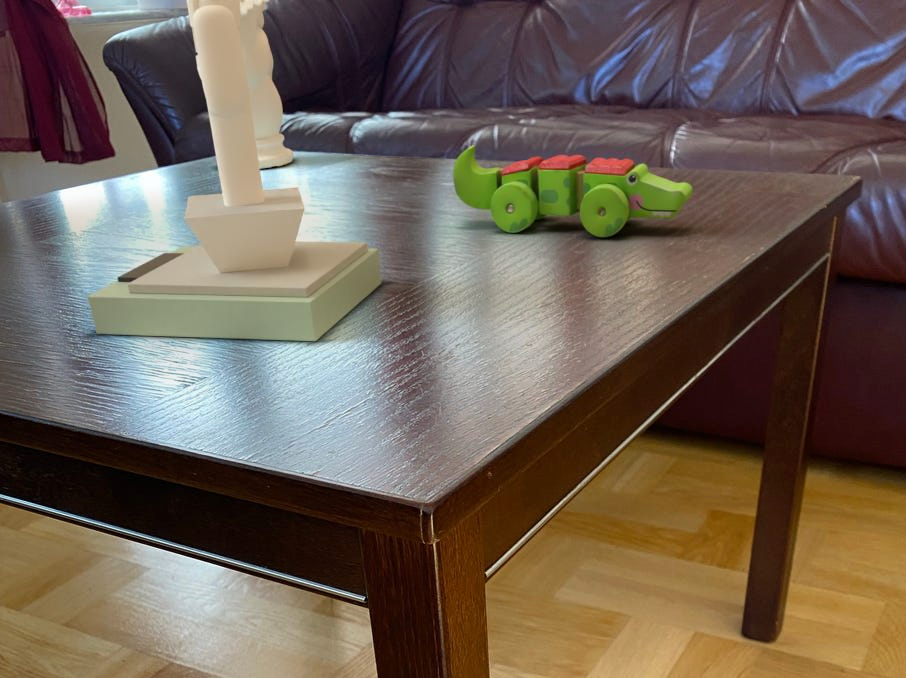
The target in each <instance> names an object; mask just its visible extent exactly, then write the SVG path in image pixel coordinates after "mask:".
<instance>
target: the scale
mask: <svg viewBox="0 0 906 678" xmlns="http://www.w3.org/2000/svg"><path fill="white" fill-rule="evenodd" d="M379 253H380V252H379V248H368V243H367V242H363V241H295V245H294V249H293V252H292V256H291V259H290V263H289V267H278V268H267V269H256V270H245V271H234V272H224V273H220V272H219V270H218V269H217V267H216V266H215V264H214V263H213V261H212V260H211V258H210V257H209V255H208V254H207V252H206V251H205V249H204V248H203V246H202V245H201V244H199V245H195V246H194V245H183V246H181V247H179V248H176V250H174V251H171V252H164V253H162V254H159V255H158V256H156V257H153V258H152V259H149V260H148V261H146V262H144V263H142V264H140V265H139V266H136V267H134V268H133V269H131V270H129V271H127V272H125V273H123V274H121V275H119V276H117V280H115V282H112V283H110V284H109V285H107V286H104V287H102V288H101V289H99V290H97V291H95V292H93V293H91V294H89V295H87V300H88V304H89V308H90V312H91V316H92V321H93V324H94V328H95V332H96V334H97V335H117V336H118V335H119V336H120V335H121V336H149V337H150V336H151V337H174V338H175V337H179V338H209V339H233V340H235V339H236V340H237V339H238V340H264V341H266V340H267V341H268V340H269V341H294V342H295V341H296V342H316V341H318V340H319V339H320V338H321V337H322V336H323V335H324V334H326V333H327V332H328V331H329V330H330V329H331V328H333V327H334V326H335V325H336V324H337V323H338V322H339V321H340V320H342V319H343V318H344V317H345V316H346V315H347V314H348V313H350V312H351V311H352V310H353V309H354V308H356V306H357V305H358V304H360V303H361V302H362V301H363V300H364V299H365V298H367V297H368V296H369V295H370V294H371V293H372V292H374V291H375V290H376V289H377V288H378V287H379V286H380V285H381V284H382V275H381V264H380V254H379Z"/></svg>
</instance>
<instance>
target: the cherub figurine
mask: <svg viewBox="0 0 906 678" xmlns="http://www.w3.org/2000/svg"><path fill="white" fill-rule="evenodd" d="M269 1H270V0H240V15H241V28H240V29H239V32H240V40H241V47H242V53H243V60H244V67H245V73H246V80H247V87H248V94H249V100H250V107H251V114H252V120H253V127H254V134H255V140H256V147H257V154H258V161H259V167H260V170H261V169H266V168H268V169H269V168H272V167H276V166H277V167H281V166H283V165H287V164H290V163H291V162H292V161H293V159H294V158H293V157H294V152H293V150H292V149H290V148H287V147H285V146H284V141H285V135H284V134H282V133H280V131H281V127H282V123H283V115H284V114H283V110H284V109H283V103H282V100H281V99H282V98H281V96H280V94H279V91H278V89H277V87H276V85H275V83H274V81H273V71H274V70H273V69H274V58H273V57H274V56H273V54H272V49H271V47H270V43H269V39H268V36H267V34H266V32H265V31H264V29H263V28H264V24H265V18H264V14H263V12H264V11H265V10H266V8H267V5H266V4H267V3H269ZM196 69H197V73H198V75H199V78H200V80H201V81H202V79H201V72H200V67H197V66H196Z"/></svg>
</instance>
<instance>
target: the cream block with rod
mask: <svg viewBox="0 0 906 678" xmlns="http://www.w3.org/2000/svg"><path fill="white" fill-rule="evenodd" d="M186 6H187V12H188V19H189V26H190V27H191V32H192V37H193V43H194V48H195V53H197V55H195V60H196V68H197V67H200V72H201V78H200V80H201V79H202V80H201V84H202V89H203V93H204V97H205V100H206V106H207V111H208V119H209V124H210V130H211V135H212V141H213V148H214V153H215V159H216V165H217V172H218V176H219V182H220V189H221V193H213V194H212V193H211V194H200V195H188V197H187V201H186V207H185V213H184V217H183V219H184V220H185V222H186V224H187V225H188V226H189V228H190V229H191V231H192V233H193V234H194V236H195V238H197V241H198V242H199V243H200V245H202V246H203V248H204V249H205V251H206V252H207V254H208V255H209V257H210V258H211V260H212V261H213V263H214V264H215V266H216V267H217V269H218V270H219V272H220V273H224V272H234V271H245V270H256V269H267V268H278V267H289V263H290V259H291V256H292V252H293V249H294V245H295V242H297V237H298V234H299V231H300V227H301V223H302V218H303V215H304V213H305V209H306V208H305V205H304V202H303V198H302V195H301V191H300V188H299V187H286V188H285V187H284V188H273V189H264V188H263V181H262V175H261V169H260V167H259V161H258V154H257V147H256V140H255V134H254V127H253V120H252V114H251V107H250V100H249V94H248V87H247V80H246V73H245V67H244V60H243V53H242V47H241V40H240V32H239V29H240V28H241V15H240V0H186Z"/></svg>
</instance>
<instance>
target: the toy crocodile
mask: <svg viewBox="0 0 906 678" xmlns="http://www.w3.org/2000/svg"><path fill="white" fill-rule="evenodd" d="M475 152H476V144H472V145H470V146H469V147H468V148H467V149H465V150H463V152H461V154H460V155H459V156H458V157H457V159H456V160H455V162H454V166H453V170H452V178H453V186H454V189H455V193H456V195H457V197H458V198H459V199H460V200H461V201H462V202H463V203H464V204H465V205H467V206H468V207H471V208H473V209H477V210H483V211H484V210H485V211H489V210H490V215H491V217H492V219H493V222H494V223H495V224H496V225H497V227H498V228H499V229H501V230H502V231H504V232H507V233H519V232H522V231H523V230H526V229H527V228H529V227H530V226H531V225H532V224H533V223H534V221H538V220H541V219H544V218H545V217H547V216H561V217H562V216H563V217H570V216H573V215H576V214H578V213H579V216H580V221H581V223H582V226H583V227H584V229H585V230H586V231H587V232H588V233H589V234H591V235H593V236H595V237H597V238H598V237H599V238H608V237H611V236H614V235H615V234H617V233H618V232H619V231H621V230H622V229H623V228H624V226H625V224H626V223H627V221H629V220H630V219H631V218H633V219H636V218H637V219H639V218H641V219H642V218H643V219H644V218H646V219H648V218H649V219H673V218H674V217H676V215H677V214H678V213H679V212H680V211H681V210H682V208H683V207H684V205H685V204H686V203H687V202H688V200H689V199H690V198H691V197H692V195H693V191H694V188H693V186H692V185H691V184H690V183H688V182H675V181H672V180H670V179H667V178H665V177H661V176H658V175H656V174H653V173H651V172H649V167H648V165H647V164H645V163H639V164H637V165H635V162H634V160H632V159H630V158H624V159H618V158H615V157H610V158H609V159H607V158H604V157H596V158H594V159H593V160H592V161H590V162H589V163H587V162H588V160H587V157H585V156H583V155H581V154H573V155H571V156H568V155H566V154H558V155H556V156H553V157H550V158H546V159H545V160H544V159H543V157H541V156H534V157H530V158H528V159H527V160H525V159H523V160H519V161H516V162H514V163H511V164H510V165H507V166H505V167H503V168H501V167H491V168H484V167H482V166H480V165H479V164H478V163H477V161H476V157H475Z"/></svg>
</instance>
